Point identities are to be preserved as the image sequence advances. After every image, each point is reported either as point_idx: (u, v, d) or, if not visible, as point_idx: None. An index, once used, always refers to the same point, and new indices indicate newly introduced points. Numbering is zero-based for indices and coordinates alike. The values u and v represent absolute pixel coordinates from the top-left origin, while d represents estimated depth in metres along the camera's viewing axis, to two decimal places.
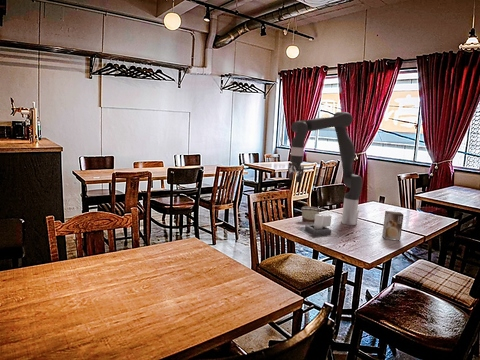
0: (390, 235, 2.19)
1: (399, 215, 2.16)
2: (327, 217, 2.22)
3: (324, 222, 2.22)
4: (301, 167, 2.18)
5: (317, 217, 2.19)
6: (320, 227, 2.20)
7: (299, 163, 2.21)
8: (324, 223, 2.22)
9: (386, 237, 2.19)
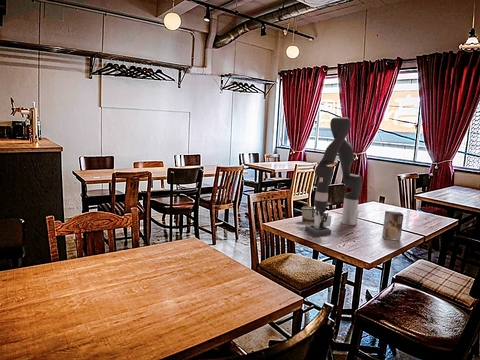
0: (390, 235, 2.19)
1: (399, 215, 2.16)
2: (327, 217, 2.22)
3: (324, 222, 2.22)
4: (326, 215, 2.15)
5: (317, 217, 2.19)
6: None
7: (324, 208, 2.17)
8: (324, 223, 2.22)
9: (386, 237, 2.19)
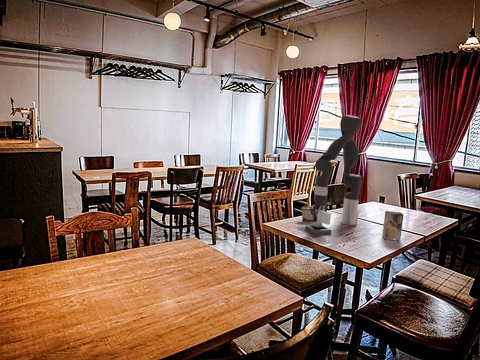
0: (390, 235, 2.19)
1: (399, 215, 2.16)
2: (324, 214, 2.17)
3: (321, 218, 2.19)
4: (311, 207, 2.17)
5: None
6: None
7: (316, 202, 2.18)
8: (321, 219, 2.19)
9: (386, 237, 2.19)
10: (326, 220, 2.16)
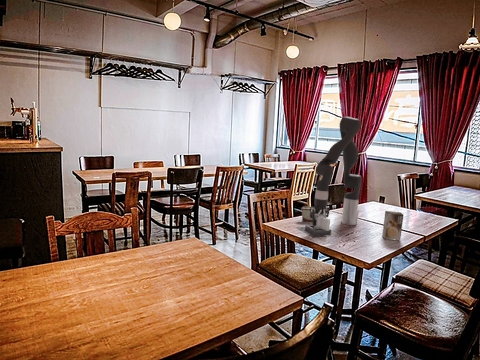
0: (390, 235, 2.19)
1: (399, 215, 2.16)
2: (324, 219, 2.17)
3: (321, 224, 2.19)
4: (311, 210, 2.17)
5: None
6: (314, 226, 2.21)
7: (316, 206, 2.18)
8: (321, 225, 2.19)
9: (386, 237, 2.19)
10: (325, 226, 2.16)
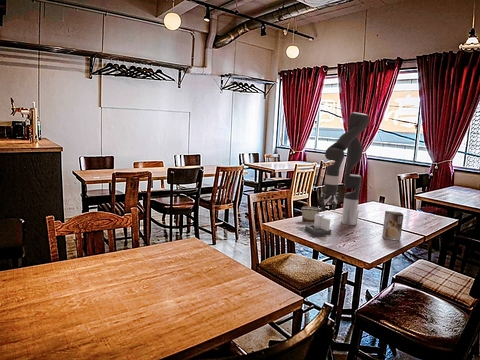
0: (390, 235, 2.19)
1: (399, 215, 2.16)
2: (324, 219, 2.17)
3: (321, 223, 2.19)
4: (321, 195, 2.10)
5: None
6: (314, 226, 2.22)
7: (326, 191, 2.11)
8: (321, 225, 2.19)
9: (386, 237, 2.19)
10: (325, 226, 2.16)
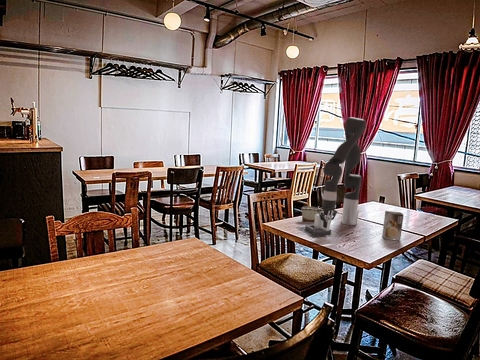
0: (390, 235, 2.19)
1: (399, 215, 2.16)
2: None
3: (321, 224, 2.19)
4: (319, 213, 2.12)
5: None
6: (314, 226, 2.21)
7: (324, 207, 2.13)
8: (321, 225, 2.19)
9: (386, 237, 2.19)
10: None
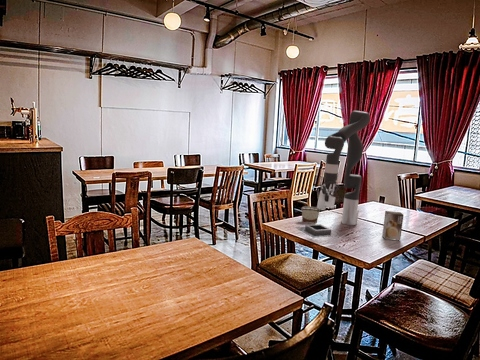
0: (390, 235, 2.19)
1: (399, 215, 2.16)
2: (329, 197, 2.12)
3: None
4: (321, 187, 2.10)
5: None
6: (318, 203, 2.18)
7: (325, 180, 2.10)
8: (325, 202, 2.15)
9: (386, 237, 2.19)
10: (330, 203, 2.12)
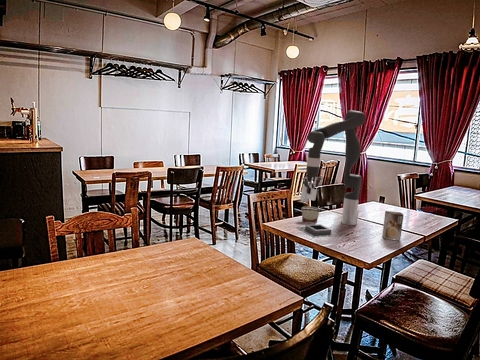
0: (390, 235, 2.19)
1: (399, 215, 2.16)
2: (311, 189, 2.21)
3: None
4: (303, 180, 2.19)
5: None
6: (301, 195, 2.26)
7: (307, 173, 2.19)
8: (308, 194, 2.23)
9: (386, 237, 2.19)
10: (312, 196, 2.20)
